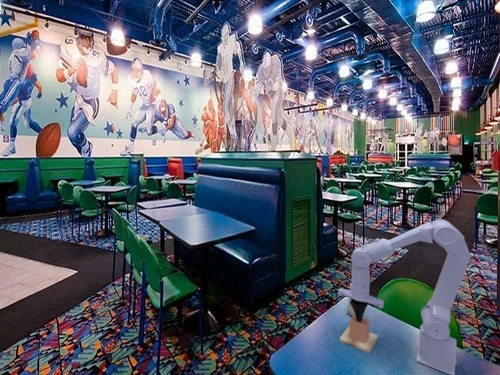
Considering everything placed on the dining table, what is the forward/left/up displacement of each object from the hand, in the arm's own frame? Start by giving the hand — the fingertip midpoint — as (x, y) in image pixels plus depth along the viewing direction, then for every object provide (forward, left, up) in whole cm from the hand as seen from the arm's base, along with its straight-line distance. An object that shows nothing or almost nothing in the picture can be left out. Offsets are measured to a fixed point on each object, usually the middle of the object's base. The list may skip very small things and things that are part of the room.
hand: (359, 320), depth 90 cm
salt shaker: (+6, -15, -7) cm, 18 cm away
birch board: (0, 0, -7) cm, 7 cm away
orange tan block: (0, 0, -6) cm, 6 cm away
